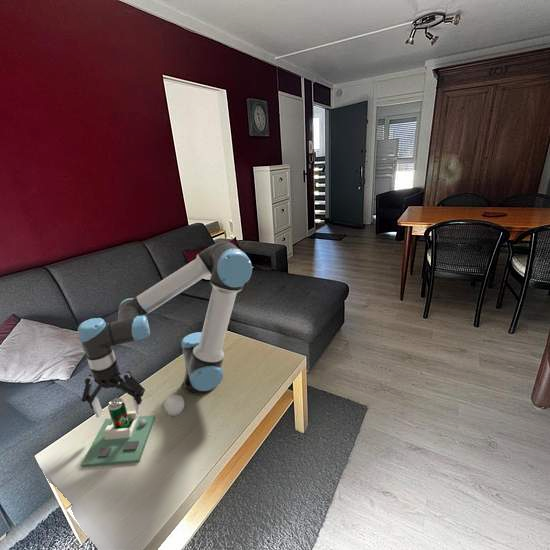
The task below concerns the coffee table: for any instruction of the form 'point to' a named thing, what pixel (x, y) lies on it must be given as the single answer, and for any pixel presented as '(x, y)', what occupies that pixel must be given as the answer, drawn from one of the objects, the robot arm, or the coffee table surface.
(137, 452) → the board
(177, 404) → the seamed sphere
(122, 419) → the soda can
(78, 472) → the coffee table surface
